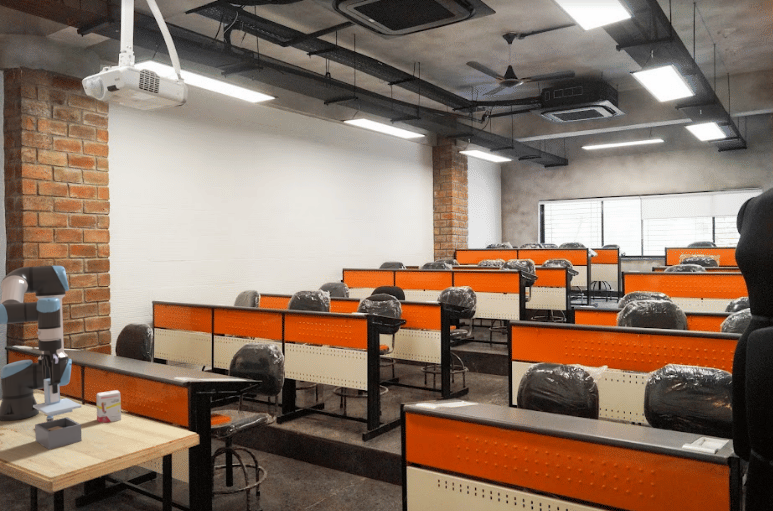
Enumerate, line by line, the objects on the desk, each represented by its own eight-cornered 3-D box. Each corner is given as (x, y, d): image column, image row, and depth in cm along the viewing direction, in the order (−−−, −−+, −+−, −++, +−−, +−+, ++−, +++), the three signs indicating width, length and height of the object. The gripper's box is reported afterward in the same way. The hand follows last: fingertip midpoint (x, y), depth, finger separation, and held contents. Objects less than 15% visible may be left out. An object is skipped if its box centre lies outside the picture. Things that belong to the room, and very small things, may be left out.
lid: (33, 411, 213) (32, 381, 212) (66, 404, 221) (65, 375, 221) (47, 419, 203) (45, 387, 203) (81, 411, 212) (80, 381, 211)
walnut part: (47, 439, 214) (46, 429, 214) (57, 436, 217) (57, 426, 217) (52, 441, 212) (52, 430, 212) (63, 438, 215) (63, 427, 215)
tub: (35, 443, 213) (34, 424, 213) (67, 435, 221) (66, 417, 221) (48, 451, 204) (48, 432, 203) (81, 443, 212) (80, 424, 212)
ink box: (99, 424, 234) (98, 395, 233) (96, 421, 238) (95, 393, 237) (121, 420, 239) (120, 392, 238) (119, 417, 243) (118, 389, 242)
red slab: (63, 430, 228) (62, 414, 228) (44, 435, 223) (43, 418, 223) (56, 426, 233) (56, 411, 233) (37, 430, 228) (37, 415, 228)
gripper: (31, 338, 218) (33, 398, 218) (46, 343, 206) (49, 407, 207) (52, 335, 223) (55, 394, 224) (69, 340, 212) (71, 402, 213)
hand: (52, 400), depth 216 cm, fingers closed on lid, 4 cm apart
